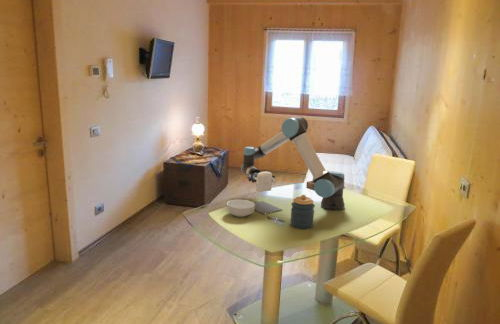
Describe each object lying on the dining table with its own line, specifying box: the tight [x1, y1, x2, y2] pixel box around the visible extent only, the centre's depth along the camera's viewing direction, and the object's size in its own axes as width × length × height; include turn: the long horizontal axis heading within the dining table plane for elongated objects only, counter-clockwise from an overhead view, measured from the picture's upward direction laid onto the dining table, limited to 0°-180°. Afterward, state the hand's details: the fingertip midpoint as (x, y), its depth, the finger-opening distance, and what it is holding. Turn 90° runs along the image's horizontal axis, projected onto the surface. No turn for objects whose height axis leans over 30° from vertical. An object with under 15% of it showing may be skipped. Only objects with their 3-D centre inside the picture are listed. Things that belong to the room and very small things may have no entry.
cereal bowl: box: [226, 199, 255, 218], centre depth 228 cm, size 17×17×7 cm
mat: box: [253, 200, 283, 215], centre depth 243 cm, size 20×15×1 cm
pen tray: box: [306, 180, 315, 190], centre depth 297 cm, size 14×26×4 cm, turn 126°
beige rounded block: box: [255, 171, 273, 193], centre depth 240 cm, size 10×4×12 cm, turn 123°
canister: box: [289, 194, 315, 230], centre depth 215 cm, size 13×13×18 cm
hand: (266, 181), depth 236 cm, fingers closed on beige rounded block, 10 cm apart
